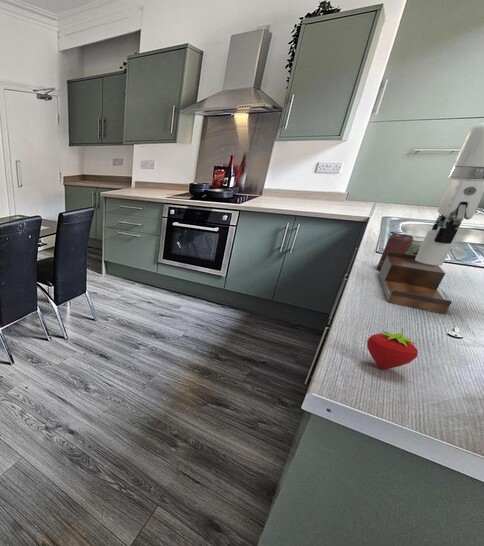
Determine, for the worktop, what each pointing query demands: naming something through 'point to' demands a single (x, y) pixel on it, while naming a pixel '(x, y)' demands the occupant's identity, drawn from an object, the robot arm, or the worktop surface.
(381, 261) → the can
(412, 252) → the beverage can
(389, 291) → the rack
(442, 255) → the bottle
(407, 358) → the strawberry
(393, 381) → the worktop surface
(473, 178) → the robot arm
